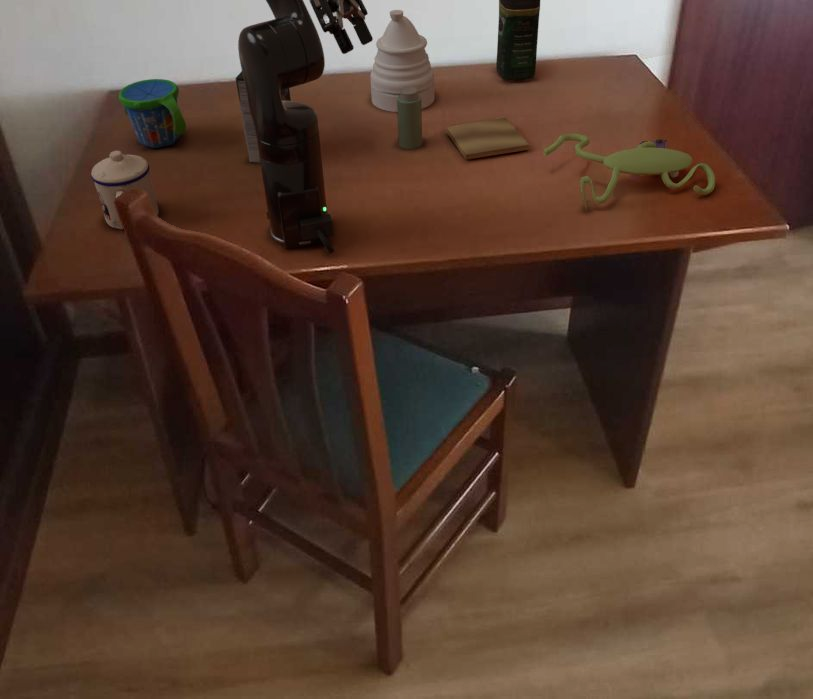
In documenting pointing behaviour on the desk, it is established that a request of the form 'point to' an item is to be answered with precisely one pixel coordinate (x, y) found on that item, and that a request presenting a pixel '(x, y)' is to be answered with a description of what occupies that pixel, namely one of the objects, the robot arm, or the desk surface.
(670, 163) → the figurine
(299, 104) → the robot arm
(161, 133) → the snack cup
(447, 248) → the desk surface
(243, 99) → the coffee box
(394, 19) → the honey pot
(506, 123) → the plate
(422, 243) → the desk surface
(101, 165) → the teacup with lid
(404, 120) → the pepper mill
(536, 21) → the coffee jar
